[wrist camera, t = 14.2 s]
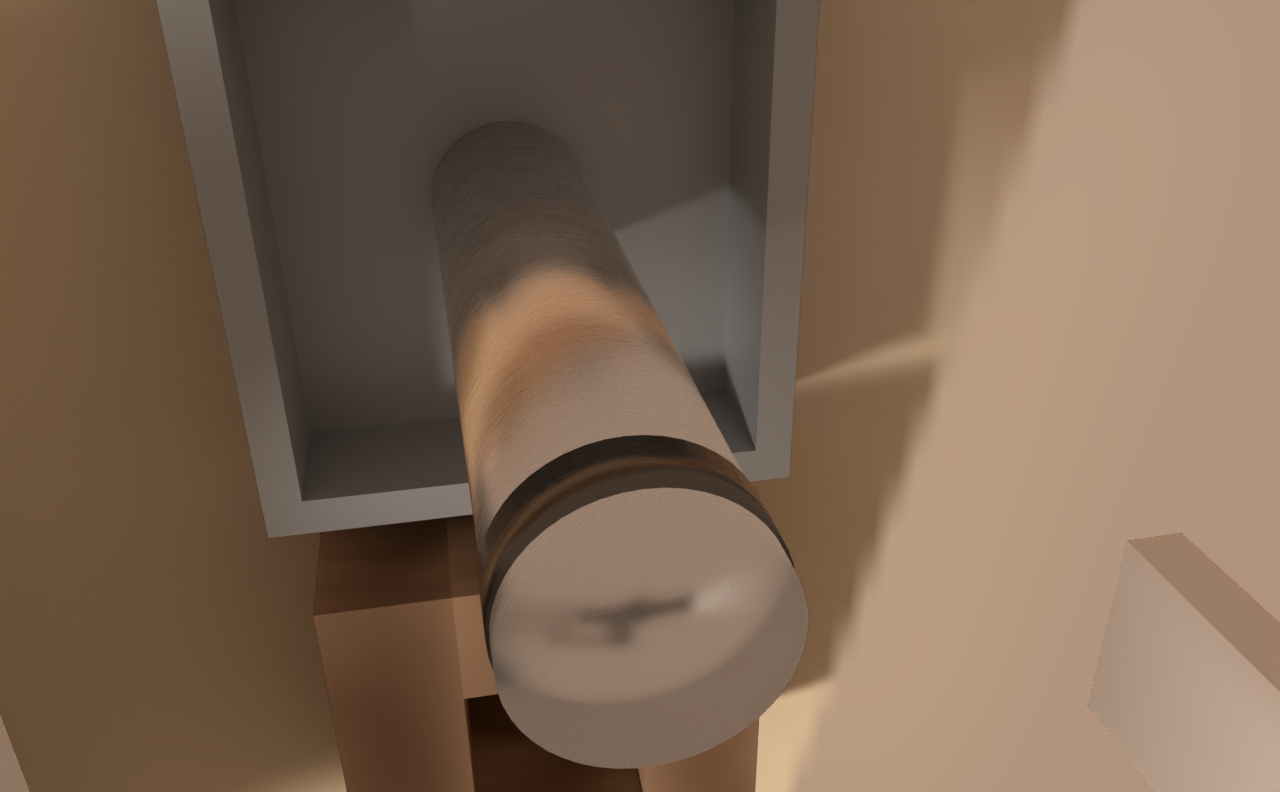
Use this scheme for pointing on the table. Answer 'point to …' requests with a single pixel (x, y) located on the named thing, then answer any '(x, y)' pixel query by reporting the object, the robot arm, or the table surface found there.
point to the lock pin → (598, 478)
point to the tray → (404, 224)
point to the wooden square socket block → (449, 678)
